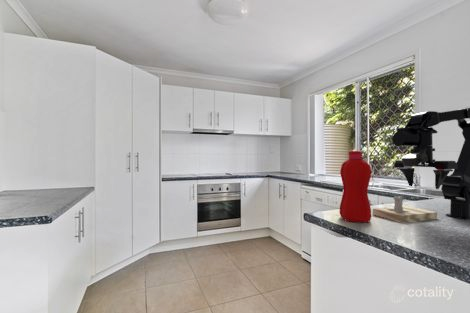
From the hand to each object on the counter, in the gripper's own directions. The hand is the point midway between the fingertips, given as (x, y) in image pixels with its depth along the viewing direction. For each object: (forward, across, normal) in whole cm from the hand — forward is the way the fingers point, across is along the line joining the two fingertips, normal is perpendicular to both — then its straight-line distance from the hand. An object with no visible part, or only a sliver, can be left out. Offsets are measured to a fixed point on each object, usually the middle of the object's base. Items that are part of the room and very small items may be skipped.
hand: (423, 187), depth 89 cm
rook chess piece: (+12, -4, -8) cm, 15 cm away
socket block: (+11, -4, -5) cm, 13 cm away
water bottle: (+11, -6, -26) cm, 29 cm away
